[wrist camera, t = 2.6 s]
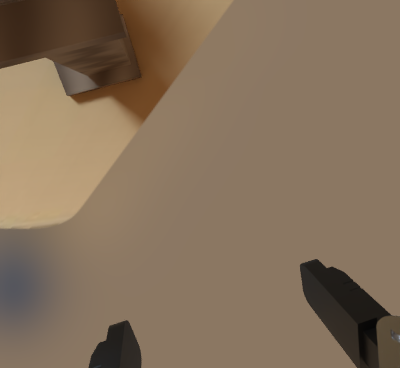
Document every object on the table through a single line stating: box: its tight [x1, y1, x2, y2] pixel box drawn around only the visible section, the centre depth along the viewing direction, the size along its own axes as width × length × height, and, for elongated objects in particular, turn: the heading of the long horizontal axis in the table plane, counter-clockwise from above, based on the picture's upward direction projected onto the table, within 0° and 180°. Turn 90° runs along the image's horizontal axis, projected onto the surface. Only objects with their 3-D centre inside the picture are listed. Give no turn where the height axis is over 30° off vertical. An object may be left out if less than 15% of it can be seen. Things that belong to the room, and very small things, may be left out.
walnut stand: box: [0, 0, 141, 96], centre depth 29 cm, size 12×9×30 cm
